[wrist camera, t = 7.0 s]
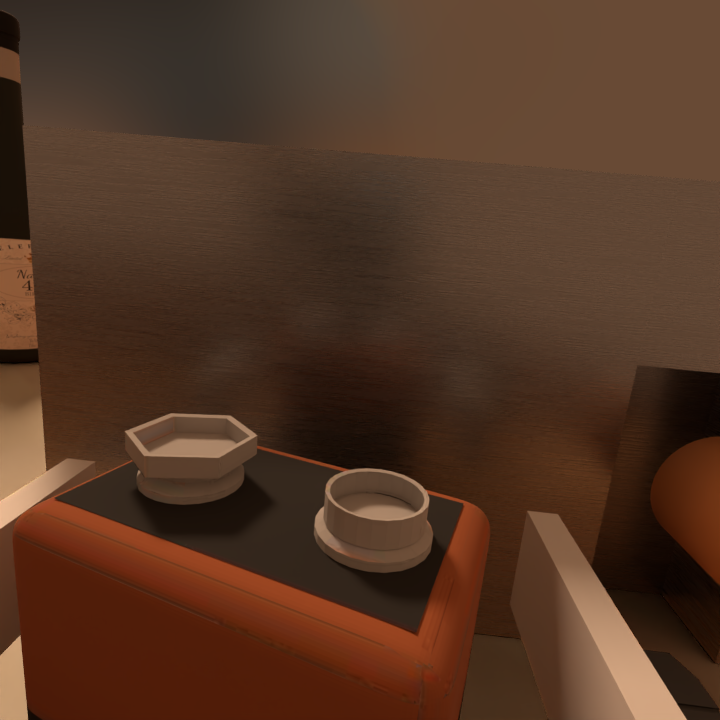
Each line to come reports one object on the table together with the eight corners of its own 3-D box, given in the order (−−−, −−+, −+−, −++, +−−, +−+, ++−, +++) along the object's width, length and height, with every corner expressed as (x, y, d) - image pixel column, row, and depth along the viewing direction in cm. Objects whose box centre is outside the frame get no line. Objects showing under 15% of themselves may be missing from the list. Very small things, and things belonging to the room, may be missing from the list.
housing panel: (54, 580, 18) (22, 125, 14) (114, 521, 22) (100, 151, 18) (758, 668, 17) (918, 198, 13) (689, 590, 21) (799, 210, 17)
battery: (192, 734, 13) (195, 385, 11) (435, 865, 11) (505, 454, 8) (34, 941, 9) (-15, 455, 7) (366, 1220, 7) (463, 624, 4)
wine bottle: (86, 356, 49) (71, 27, 42) (-1, 370, 42) (-36, -20, 35) (42, 343, 53) (21, 38, 46) (-45, 353, 46) (-85, -3, 39)
